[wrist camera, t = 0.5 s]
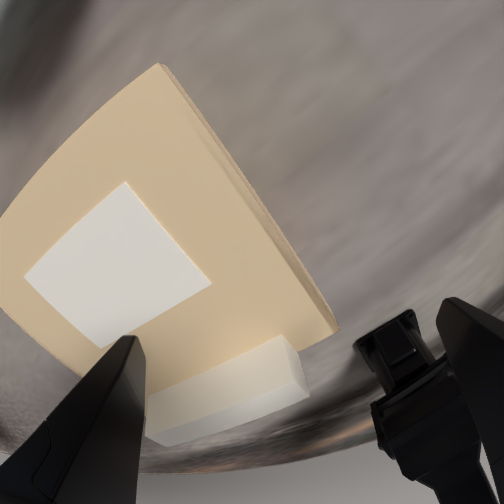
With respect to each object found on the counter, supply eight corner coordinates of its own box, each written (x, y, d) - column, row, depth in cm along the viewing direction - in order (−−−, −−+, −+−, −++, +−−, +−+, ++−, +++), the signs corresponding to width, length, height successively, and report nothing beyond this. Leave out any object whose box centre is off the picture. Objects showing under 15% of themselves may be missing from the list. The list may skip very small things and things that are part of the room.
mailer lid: (329, 307, 19) (359, 372, 14) (144, 395, 22) (138, 454, 17) (166, 65, 11) (137, 54, 7) (-17, 252, 14) (-61, 303, 10)
